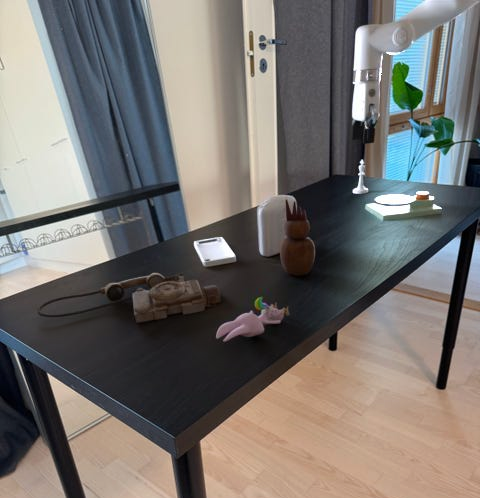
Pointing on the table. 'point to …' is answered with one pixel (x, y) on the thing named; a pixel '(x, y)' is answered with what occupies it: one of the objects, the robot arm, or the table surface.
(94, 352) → the table surface
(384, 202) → the pan
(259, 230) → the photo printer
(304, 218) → the wooden figurine
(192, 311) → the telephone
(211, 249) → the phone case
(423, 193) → the tare button
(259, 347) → the table surface
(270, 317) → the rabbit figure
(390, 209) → the scale
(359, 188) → the chess piece
